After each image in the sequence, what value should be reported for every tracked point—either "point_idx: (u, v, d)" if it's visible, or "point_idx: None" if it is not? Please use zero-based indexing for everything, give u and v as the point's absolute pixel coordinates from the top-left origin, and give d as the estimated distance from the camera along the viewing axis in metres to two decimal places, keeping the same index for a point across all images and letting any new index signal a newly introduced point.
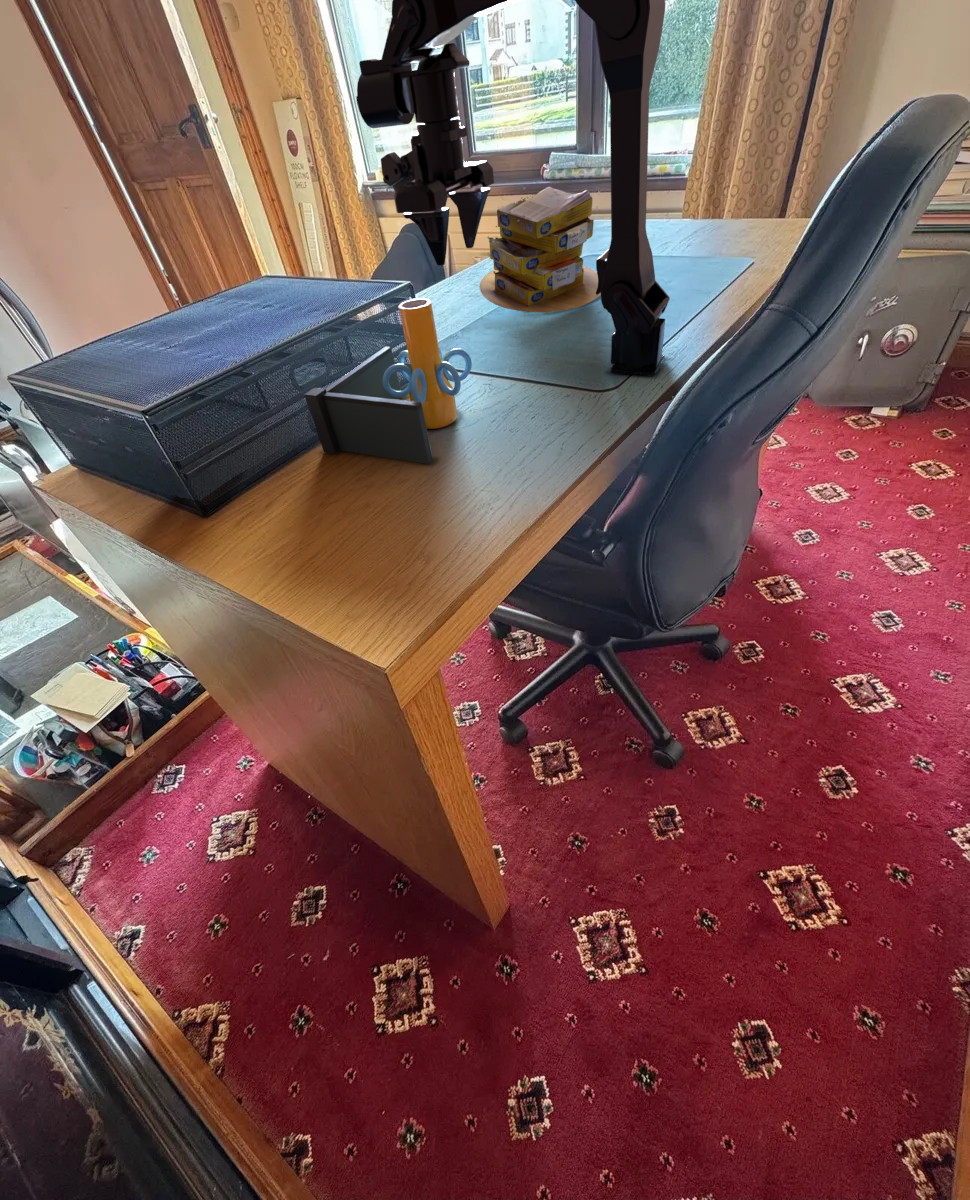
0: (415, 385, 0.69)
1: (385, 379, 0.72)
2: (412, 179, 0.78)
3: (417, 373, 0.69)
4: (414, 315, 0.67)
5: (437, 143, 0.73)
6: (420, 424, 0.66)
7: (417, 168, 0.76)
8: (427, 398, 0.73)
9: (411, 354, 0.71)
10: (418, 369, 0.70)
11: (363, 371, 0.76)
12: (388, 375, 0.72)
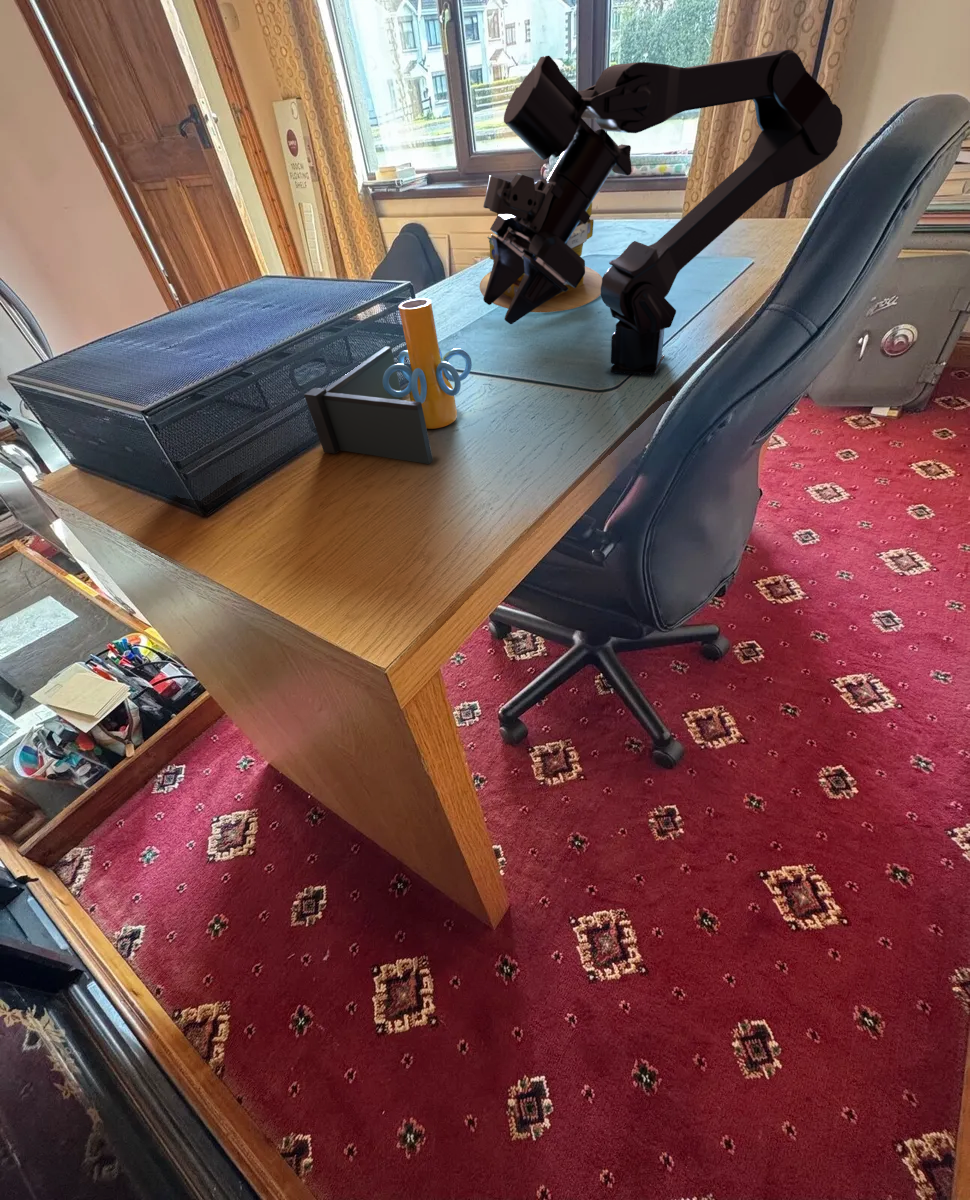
0: (415, 385, 0.69)
1: (385, 379, 0.72)
2: (525, 218, 0.65)
3: (417, 373, 0.69)
4: (414, 315, 0.67)
5: (575, 215, 0.66)
6: (420, 424, 0.66)
7: (542, 216, 0.65)
8: (427, 398, 0.73)
9: (411, 354, 0.71)
10: (418, 369, 0.70)
11: (363, 371, 0.76)
12: (388, 375, 0.72)
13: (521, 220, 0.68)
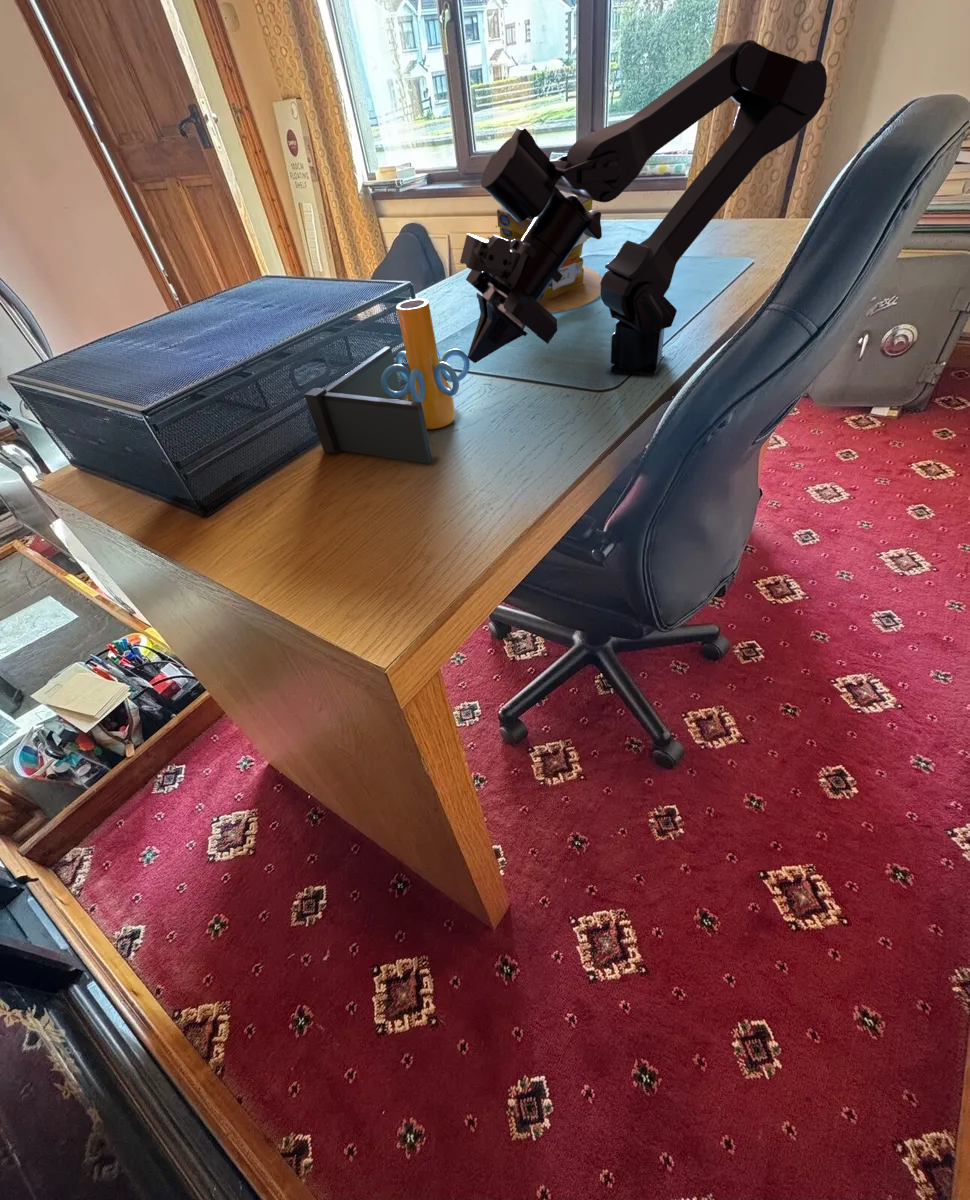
0: (413, 386, 0.69)
1: (383, 380, 0.72)
2: (500, 275, 0.67)
3: (415, 374, 0.69)
4: (412, 316, 0.67)
5: (548, 274, 0.68)
6: (420, 424, 0.66)
7: (516, 274, 0.67)
8: (425, 398, 0.73)
9: (409, 355, 0.71)
10: (416, 370, 0.70)
11: (363, 371, 0.76)
12: (386, 376, 0.72)
13: (496, 275, 0.70)
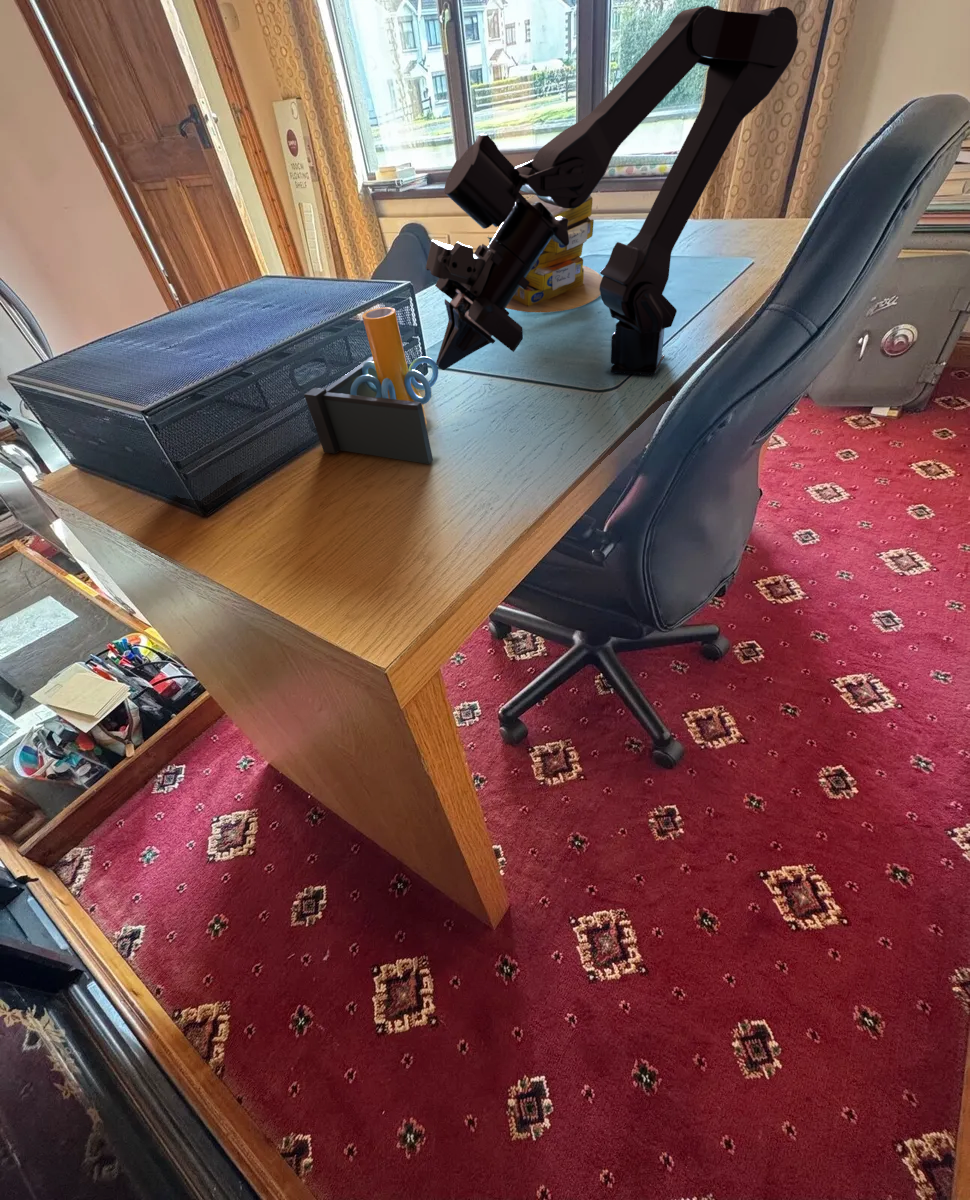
0: (386, 395, 0.68)
1: (353, 391, 0.70)
2: (465, 282, 0.66)
3: (387, 383, 0.68)
4: (380, 325, 0.66)
5: (514, 281, 0.68)
6: (420, 424, 0.66)
7: (482, 281, 0.66)
8: None
9: (378, 365, 0.70)
10: (387, 379, 0.69)
11: None
12: (356, 387, 0.70)
13: (463, 282, 0.69)
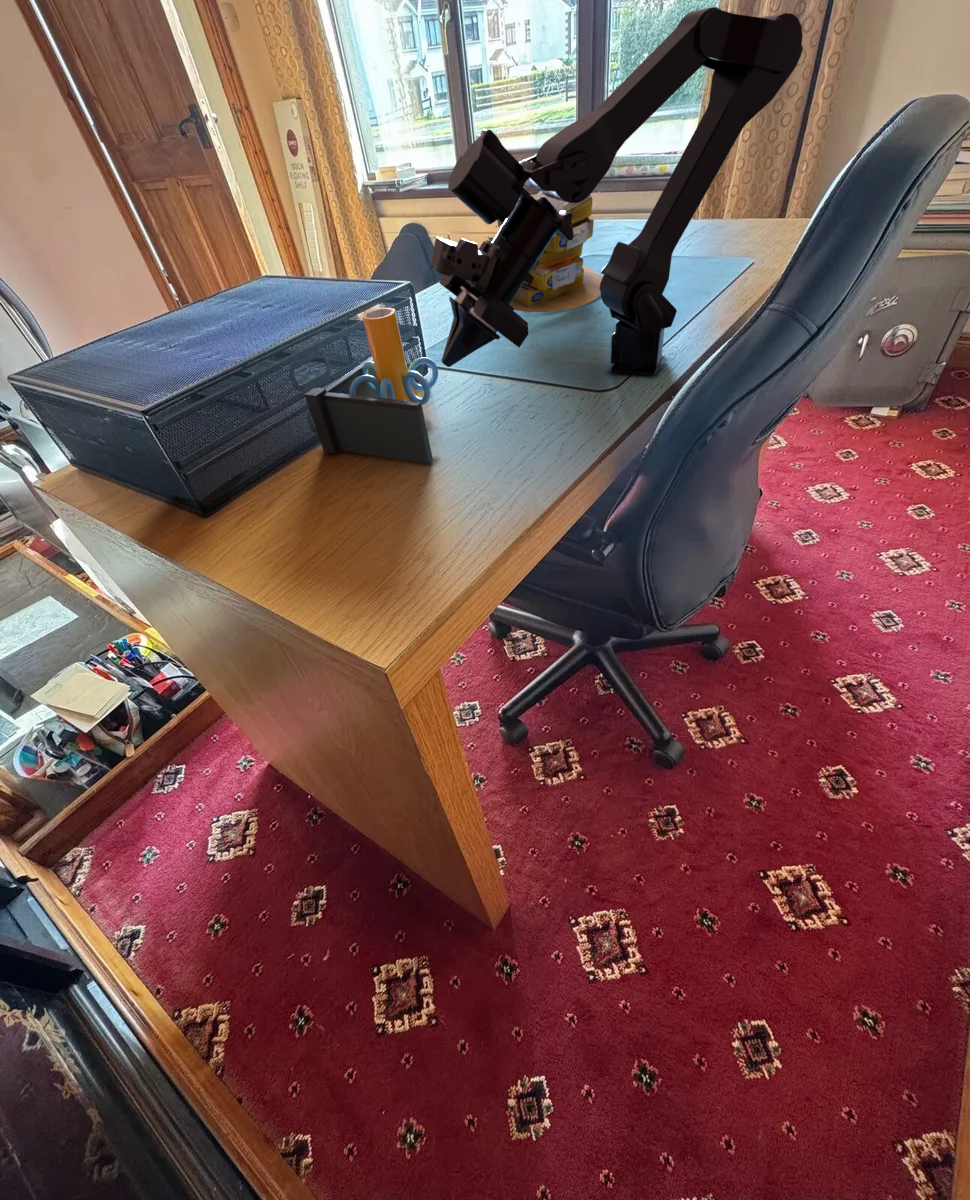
0: (384, 396, 0.68)
1: (352, 391, 0.70)
2: (470, 279, 0.66)
3: (386, 383, 0.68)
4: (379, 325, 0.66)
5: (519, 277, 0.68)
6: (420, 424, 0.66)
7: (487, 277, 0.66)
8: None
9: (378, 365, 0.70)
10: (386, 379, 0.69)
11: None
12: (355, 387, 0.70)
13: None
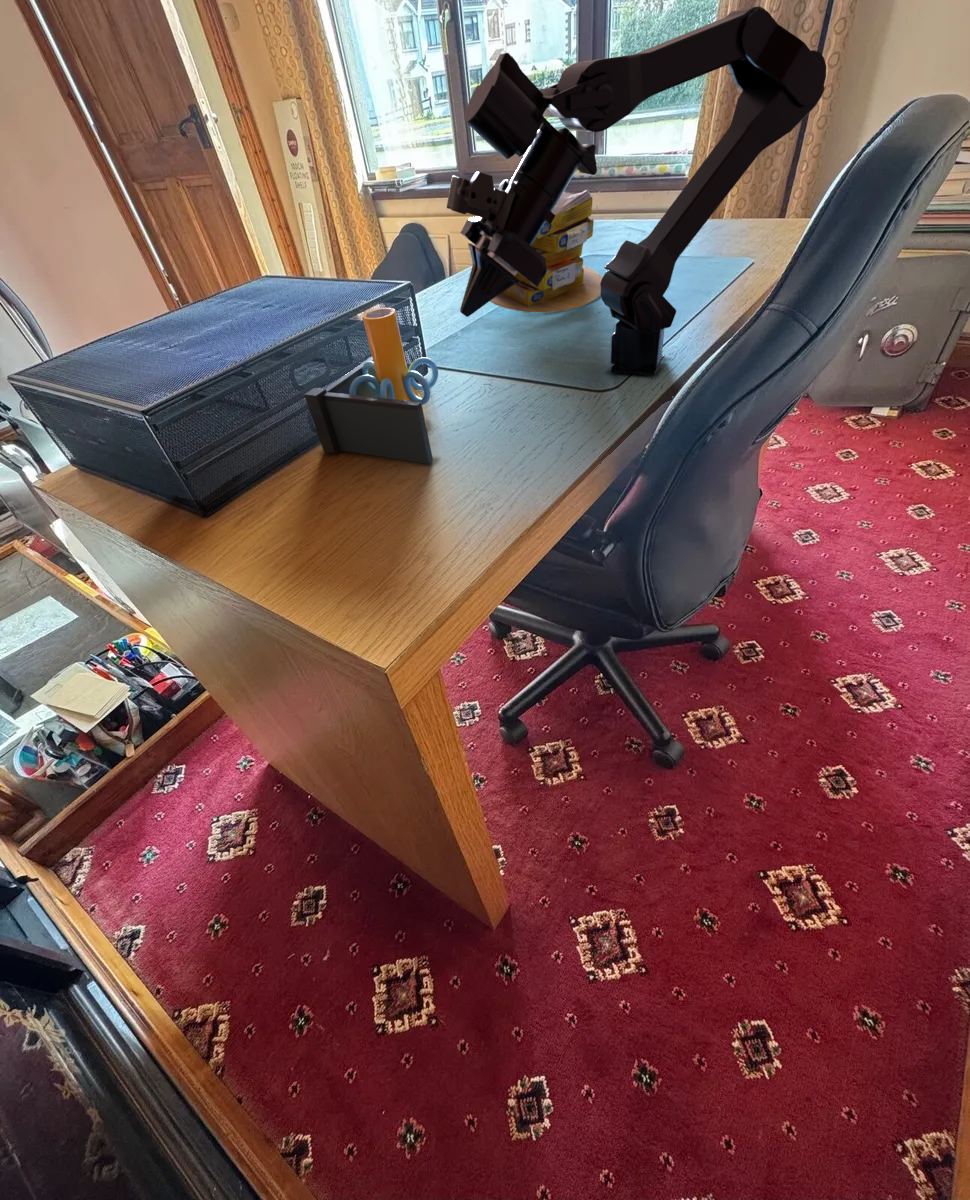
0: (385, 396, 0.68)
1: (352, 391, 0.70)
2: (487, 217, 0.64)
3: (386, 383, 0.68)
4: (379, 325, 0.66)
5: (539, 214, 0.64)
6: (420, 424, 0.66)
7: (504, 215, 0.63)
8: None
9: (378, 365, 0.70)
10: (386, 379, 0.69)
11: None
12: (355, 387, 0.70)
13: (486, 221, 0.67)
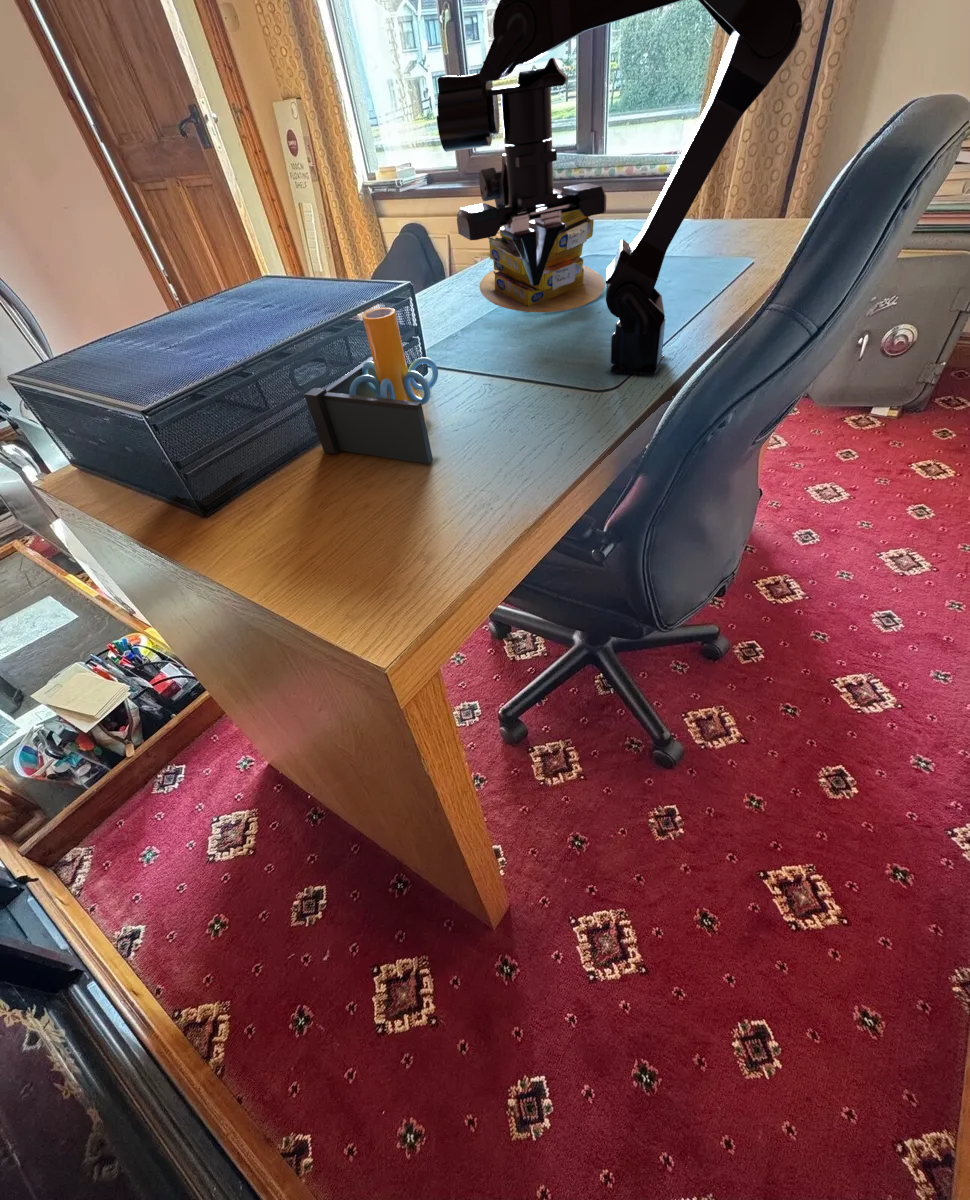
0: (385, 396, 0.68)
1: (352, 391, 0.70)
2: None
3: (386, 383, 0.68)
4: (379, 325, 0.66)
5: (512, 167, 0.68)
6: (420, 424, 0.66)
7: (502, 189, 0.72)
8: None
9: (378, 365, 0.70)
10: (386, 379, 0.69)
11: None
12: (355, 387, 0.70)
13: None
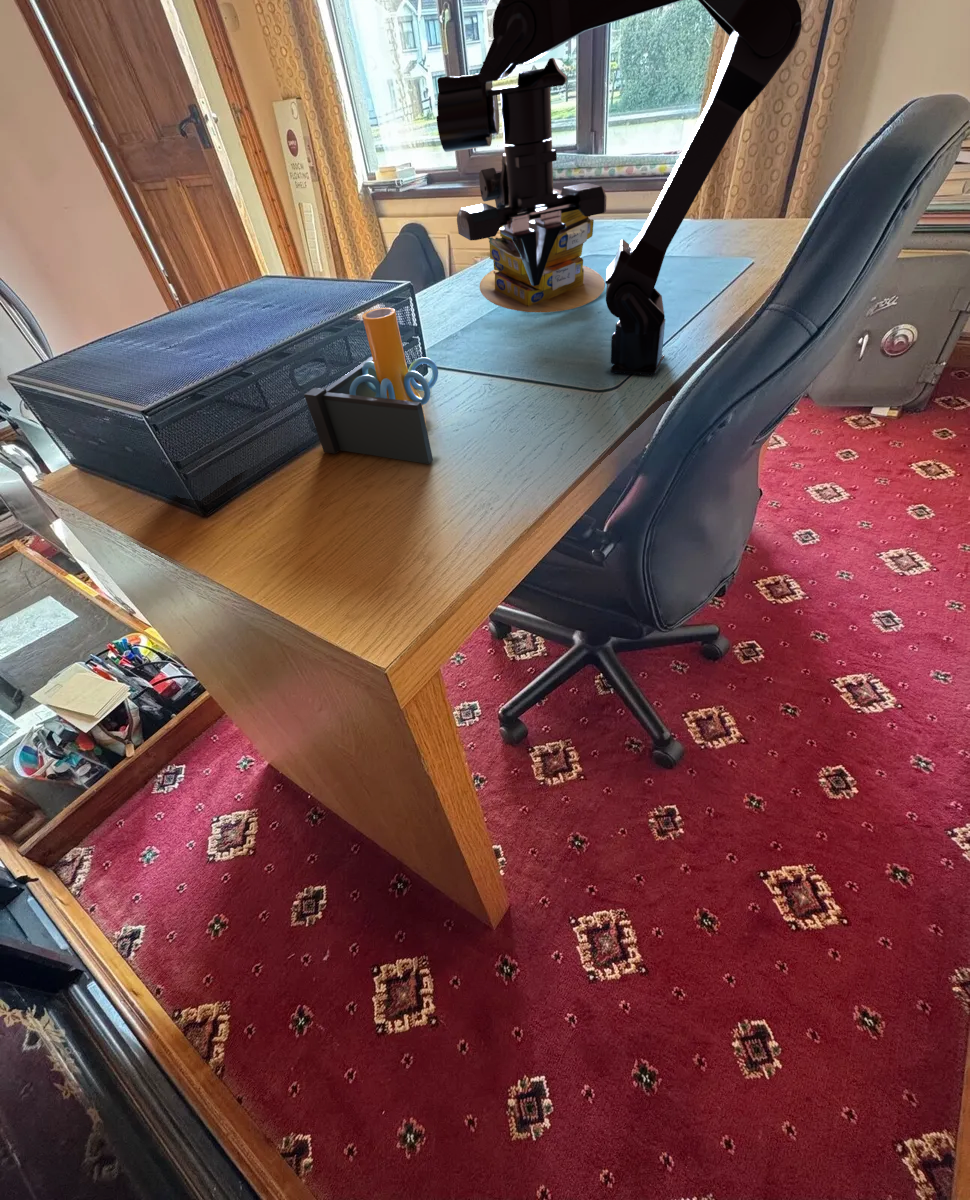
0: (385, 396, 0.68)
1: (352, 391, 0.70)
2: None
3: (386, 383, 0.68)
4: (379, 325, 0.66)
5: (512, 167, 0.68)
6: (420, 424, 0.66)
7: (501, 189, 0.72)
8: None
9: (378, 365, 0.70)
10: (386, 379, 0.69)
11: None
12: (355, 387, 0.70)
13: None
